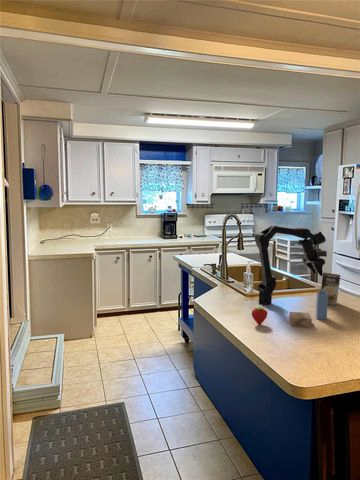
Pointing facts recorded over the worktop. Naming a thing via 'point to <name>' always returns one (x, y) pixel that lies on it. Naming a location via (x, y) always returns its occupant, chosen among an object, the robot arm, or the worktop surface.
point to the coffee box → (331, 286)
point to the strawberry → (259, 315)
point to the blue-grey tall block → (321, 305)
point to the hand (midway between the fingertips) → (318, 274)
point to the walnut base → (300, 319)
